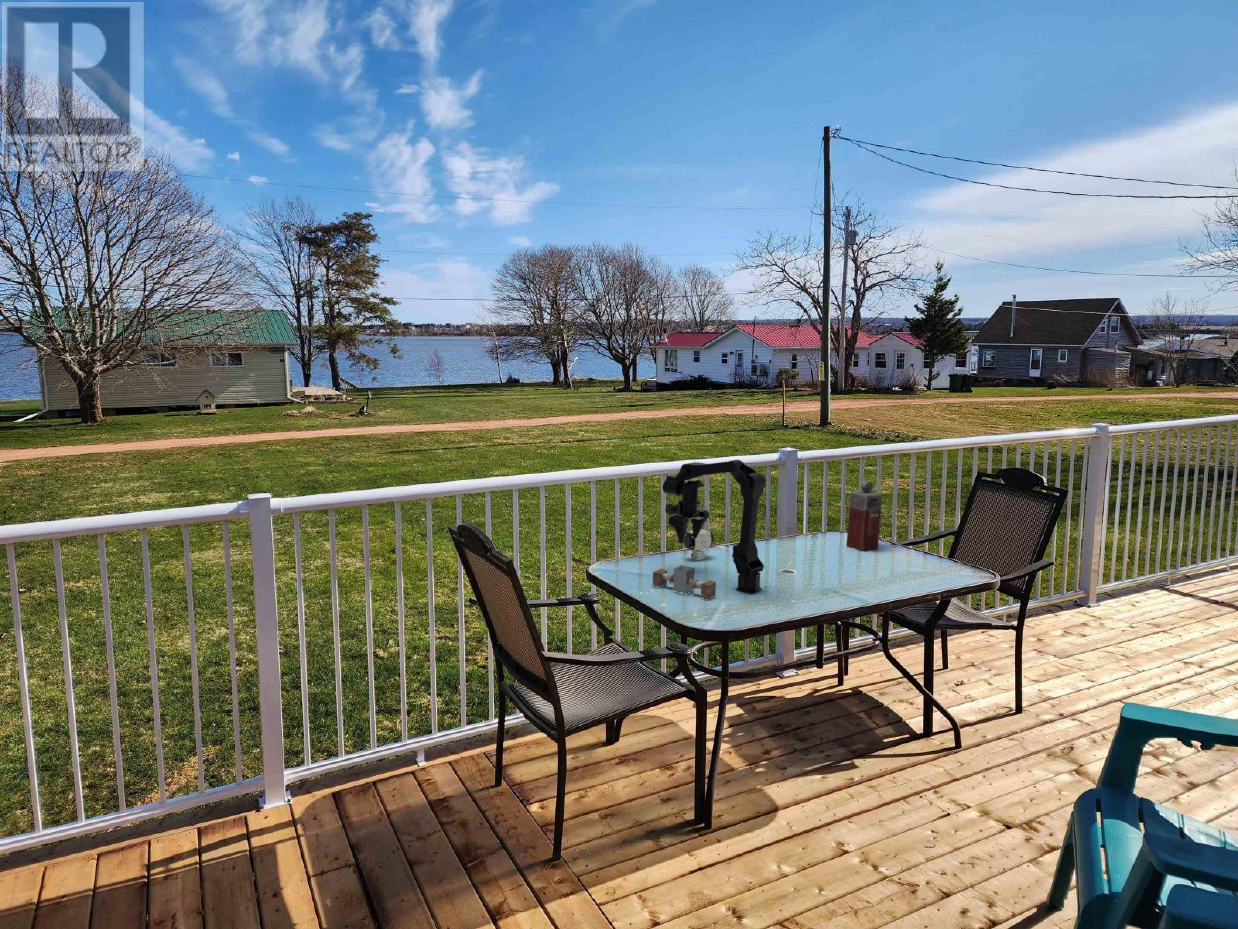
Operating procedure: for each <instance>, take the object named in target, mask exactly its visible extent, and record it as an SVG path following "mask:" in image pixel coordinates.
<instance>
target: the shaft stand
mask: <svg viewBox="0 0 1238 929" xmlns="http://www.w3.org/2000/svg"><path fill="white" fill-rule="evenodd" d="M673 580H674V573H670V574H669V573H668V570H667V569H663V568H660V569H657V570H655V571H653V572H652V586H653V585H654V586H658V587H660V586H662V585H664V586H667V585H666V584H668V582H669V583H671V584H673ZM716 586H717V582H716V581H715V580H707V581H704V582H701V581H700V580H699V579H695V578H694V581H693V583H692V587H693V588H694V590H697V589H699V590H700V589H701V590H700V599H701V598H704V599H709V600H711V599H712V598H711V597H713V596H715V597H716V591H717V589H716V588H717V587H716ZM662 587H663V586H662ZM660 588H661V587H660ZM710 598H711V599H710ZM713 598H714V597H713ZM704 599H703V600H704Z"/></svg>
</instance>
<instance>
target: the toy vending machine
mask: <svg viewBox="0 0 1238 929" xmlns="http://www.w3.org/2000/svg"><path fill="white" fill-rule="evenodd" d="M872 490H873V483H872V481H869V480H864V481H862V483H861V490H853V491H852V490H851V492H850V493H849V494H850V496H849V509H848V521H847V522H848V524H847V536H846V547H847V548H850V549H852V548H855V549H857V550H856V551H858V550H859V552H861V551H864V552H870V551H869V550H871V551H875V550H874V549H878V550H879V538H880V528H881V526H880V525H881V515H882V504H883V503H882V502H883V495H882V493H880V492H876V491H872ZM855 549H854V550H855Z"/></svg>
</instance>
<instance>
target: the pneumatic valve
mask: <svg viewBox="0 0 1238 929" xmlns="http://www.w3.org/2000/svg"><path fill="white" fill-rule="evenodd" d="M714 541H715V536H714V534H713V531H711V530H708V529H705V528H702V529H701V530H700V532H699V534H698V536H697V538H696V539H695V538H693V530H687V532H686V535H685V538H684V541H683V543H682V544H683V545H684V547H685V548H686V549H689V550H691V553H690V558H691V559H692V558H693V559H692V560H695V561H696V560H697V561H702V560H701V559H703V560H705V556H706V552H705V551H704V549H709V548H712V546H713V543H714Z"/></svg>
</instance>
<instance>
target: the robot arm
mask: <svg viewBox="0 0 1238 929" xmlns="http://www.w3.org/2000/svg"><path fill="white" fill-rule="evenodd" d="M724 473H730V474H731V475H732V477H733V479H734V480H735V481H736V483H738V484H739V487H740V493H741V496H742V499H743V503H742V505H743V506H742V516H741V526H740V527H741V528H740V537H739V542H738V543H736V544H734V545H732V555H731V558H732V562H733V564H734V565H735V569H736V573H737V574H738V576H737V587H736V589H735V590H736V591H740V592H743V593H748V594H752V595H754V594H755V593H758V592H759V591H762V587H760V585H761V572H763V570H764V568H765V564H764V563H763V562H762V560H761V559H760V557H759V555H758V554H759V553H758V552H759V550H758V546H757V545H756V542H755V540H756V528H757V517H758V507H759V500H760V499H761V497H762V494H763V493H764V491H765V490H764V489H765V486H766V478H765V477H764V476H763V474H762V473H759V472H757V471H756V469H754V468H752V467H750V465H747V464H746V463H744V462H743V461H742V460H740V459H732V460H729V461H721V462H712V463H711V462H710V463H704V462H698V461H692V462H689V463H684V464H683V463H682V465H681V466H680V470H679V471H678V473H677V474H676V476H675V475H672V474H669V475H667V476H666V479H665V480H664V482H663V484H662V490H663V493H664V494H668V495H673V496H677V497H680V496H681V499H680V500H679V501H678V504H674V505H673V504H672V503H668V504H666V505H665V510H664V512H665V513H666V514H667V515H668V519H667V525H670V526H671V527H673V529H674V530H675V531H676V532H675V533H676V534H677V535H676V536H677V539H678V542H679V544H684V543H683V541H684V538H685V536H686V532H687V531H688V528H689V525H688V523H689V521H691V524H692V531H693V538H695V539H696V538H697V536H698V534H699V532H700V530H701V529H703V527H704V525H705V523H706V522H707V521H708V519H709V518H710V512H709V511H708V509H702V508H698V505H700V504H701V501H700V500H699V488H702V487H704V486H705V485H704V483H703V482H702V481H701V480H700V478H702V477H704V476H705V477H706V476H707V475H714V474H716V475H717V474H724ZM698 478H699V479H698ZM694 479H695V480H694ZM696 479H697V480H696Z"/></svg>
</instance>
